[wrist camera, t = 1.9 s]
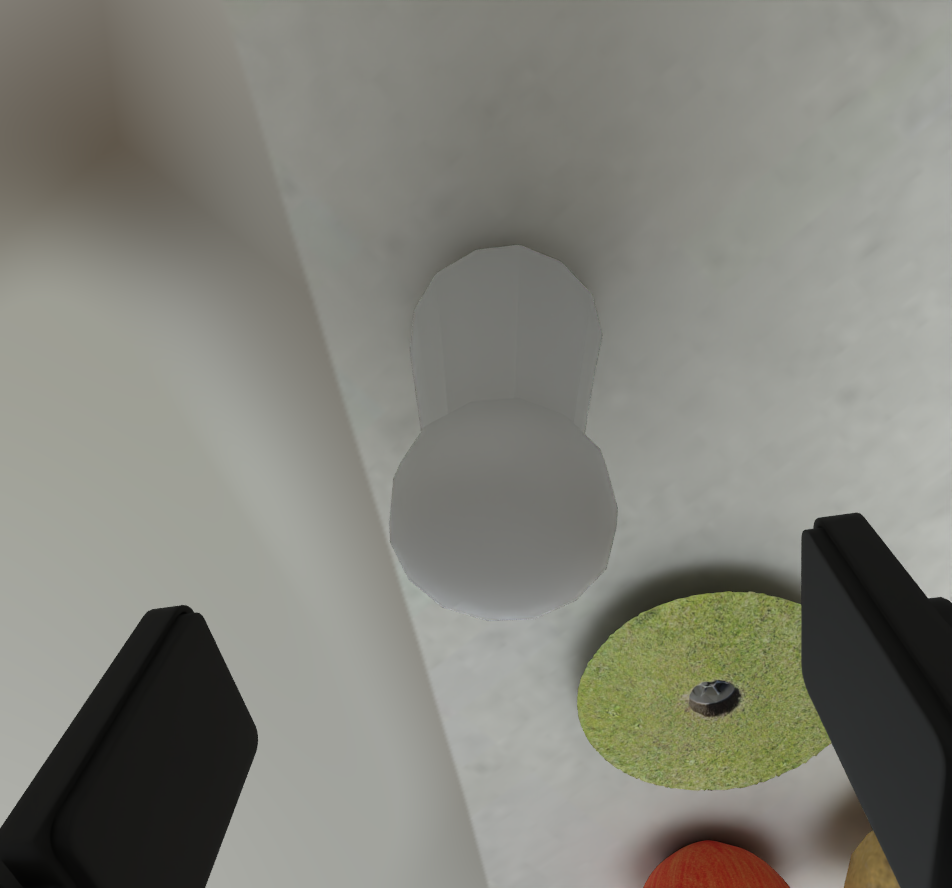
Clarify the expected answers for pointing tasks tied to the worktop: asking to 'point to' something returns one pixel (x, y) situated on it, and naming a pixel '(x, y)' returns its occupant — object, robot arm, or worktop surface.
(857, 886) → the potato
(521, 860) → the worktop surface
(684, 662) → the mat
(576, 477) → the salt shaker
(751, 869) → the apple
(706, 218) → the worktop surface
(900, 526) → the worktop surface
